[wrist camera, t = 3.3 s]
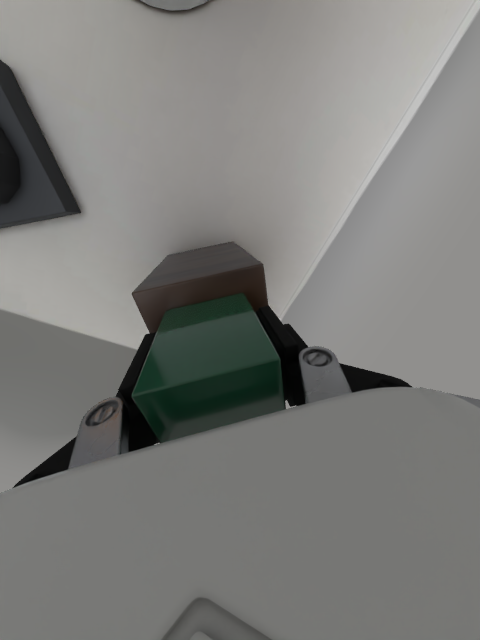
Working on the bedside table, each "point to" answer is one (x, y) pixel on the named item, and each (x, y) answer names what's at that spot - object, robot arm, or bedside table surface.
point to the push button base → (27, 163)
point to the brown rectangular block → (200, 281)
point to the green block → (208, 370)
